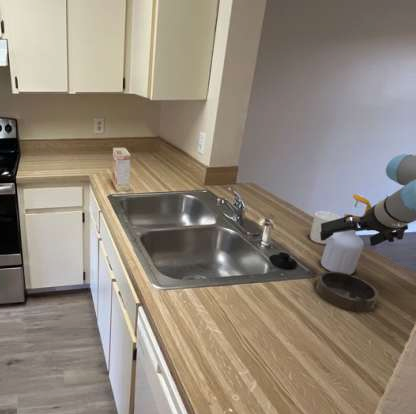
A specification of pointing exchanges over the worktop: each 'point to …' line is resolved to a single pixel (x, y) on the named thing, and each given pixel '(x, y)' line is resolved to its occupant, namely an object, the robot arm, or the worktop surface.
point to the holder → (347, 291)
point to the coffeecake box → (121, 169)
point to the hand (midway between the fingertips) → (346, 239)
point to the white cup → (316, 226)
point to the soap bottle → (344, 248)
